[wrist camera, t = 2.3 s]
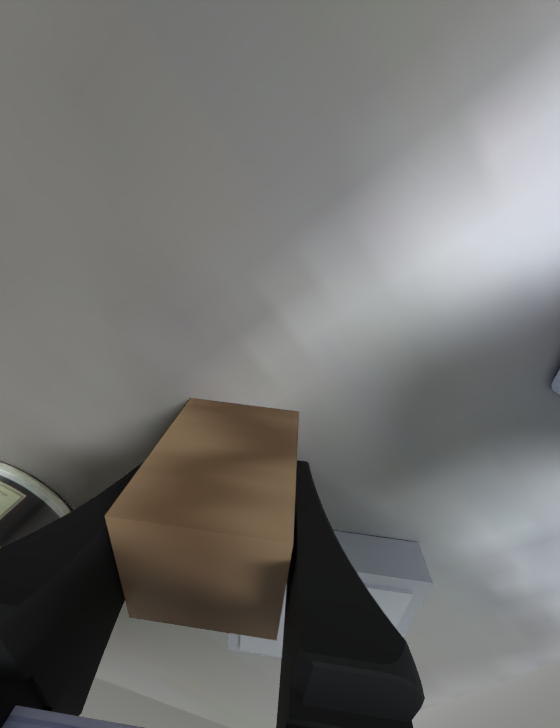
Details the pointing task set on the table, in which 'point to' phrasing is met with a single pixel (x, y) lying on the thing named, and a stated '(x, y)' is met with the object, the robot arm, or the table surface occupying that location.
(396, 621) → the pedestal
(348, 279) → the table surface
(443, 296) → the table surface
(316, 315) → the table surface
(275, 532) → the walnut block
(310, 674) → the robot arm
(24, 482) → the coffee can
